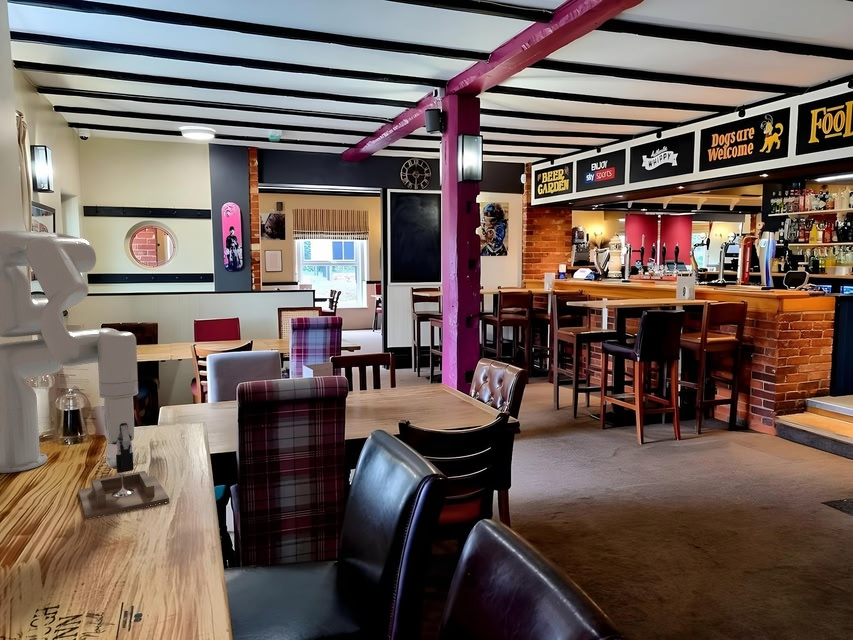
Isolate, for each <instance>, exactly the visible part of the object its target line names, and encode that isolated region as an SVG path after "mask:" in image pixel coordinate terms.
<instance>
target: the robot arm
mask: <svg viewBox="0 0 853 640" xmlns="http://www.w3.org/2000/svg"><path fill="white" fill-rule="evenodd" d="M95 251H96V250H95V249H94V247H93V245H92V244H91V243H90V242H89V241H88V240H86V239H84V238H82V237H77V236H73V235H69V234H64V233H60V232H50V231H47V232H46V231H28V230H0V338H19V337H31V336H37V339H31V340H20V341H10V342H5V343H3V342H2V343H0V474H7V473H18V472H24V471H27V470H32V469H34V468H37V467H40V466H43V465H44V464H45V463H46V462H48V456H47V454H45V453H43V452H42V453H41V452H40V451H41V449H40V434H39V433H40V432H39V430H40V429H39V414H38V399H37V394H36V392H35V389H34V388H32V386H31V385H29V384H28V383H27V381H26V379H30V378H36V377H37V378H38V377H42V376H48V375H53V374H55V373H59V372H61V370H62V369H63V366H65V367H75V366H82V365H87V364H88V365H89V364H95V363H97V366H98V368H97V369H98V370H97V371H98V387H99V390H98V391H99V398H102V399H103V401H104V403H103V410H104V411H103V415H104V416H103V417H104V418H103V419H104V420H103V423H104V424H103V425H104V428H103V429H104V436H105V439H106V441H107V443H108V442H109V443H110V444H113V442H116V445H117V453H118V454H116V467H117V469H116V473H118V474H119V473H122V472H124V473H127V472H132V471H134V462H133V452H132V445H131V441H132V442H133V440H134V439H135V416H134V415H135V414H134V413H135V412H134V396H137V395H138V394H139V381H138V380H139V379H138V357H137V356H138V355H137V337H136V336H135V334H134V333H132V332H129V331H119V330H117V329H114V328H109V327H103V328H102V327H101V328H94V329H93V328H91V329H90V328H88V329H79V330H78V329H77V330H71V331H69V329H67V327H66V325H65V317H64V313H63V312H65V311H66V310H68V309H71V308H72V307H75V306H77V305H78V304H80V303H81V302H82V301H83V300H84V299H86V298H87V296H88V294H89V286H88V284H87V283H86V281H85V279H84V276H82V273H88V272H90V271H92V270H94V268H95V266H96V263H97V255H96V252H95ZM20 267H30V268H31V270H32V272H33V274H34V276H35V279H36V280H37V281H38V283H39V285H40V288H41V289H42V292H43V293H44V295H45V297H34V298H33V297H32V296H31V282H30V279H29V277H28V276H27V275H26V273H25V272H24V271H23V270H22V269H21V268H20ZM118 439H122V440H118ZM120 444H121V446H120Z"/></svg>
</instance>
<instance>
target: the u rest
mask: <svg viewBox="0 0 853 640" xmlns="http://www.w3.org/2000/svg"><path fill="white" fill-rule="evenodd" d="M123 482H124V488H125V489H133V490H134V493H132V494H131V495H128V496H125V497H113V496H112V493H113V492H115V491H117V490H120V489H121V478H120V475H113V476H107V477H102V478H96V479H95V478H94V479H92V480H91V487H86V488H79V489H78V496H79V500H80V503H82V504H81V507H82V510H84V511H83V514H85V515H84V518H85V520H86V519H87V520H90V519H89V518H92V519H94V518H93V517H96V518H99V517H98V516H101V517H104V516H103V515H106V516H110V515H109V514H111V515H115V514H114V513H116V514H119V512H121V513H124V511H125V512H129V511H128V510H130V511H134V510H133V509H135V510H138V509H137V508H140V509H143V508H142V507H145V508H147V507H146V506H149V507H151V506H150V505H154V506H156V505H155V504H159V503H164V504H166V503H165V502H169V503H170V497H169V495H168V494H167V492H166V491H165V489H164V488H163V486H162V484H161V483H160V481H159V480H158V478H157V477H156V475H152V476H149V475H148V472H146V470H142V471H136V472H131V473H124V478H123ZM159 505H160V504H159Z"/></svg>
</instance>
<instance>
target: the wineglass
mask: <svg viewBox="0 0 853 640" xmlns="http://www.w3.org/2000/svg"><path fill="white" fill-rule="evenodd" d="M118 440H122V439H118ZM131 445H132V452H133V463H135V459H136V451H135V446H134V443H133V440H132V441H131ZM120 446H121V444H120ZM105 451H106V452H105V461H106V464H107V466H108V467H109V468H110V469H113V470H117V467H116V454H118V453H117V445H116V442H113V444H110V443H109V442H108V441H107V446H106V450H105ZM118 474H119V475H120V478H121V489H120V490H117V491H115V492H113V493H112V496H113V497H125V496H128V495H131V494H132V493H134V490H133V489H125V488H124V482H123V478H124V474H125V472H122V473H118Z"/></svg>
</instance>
